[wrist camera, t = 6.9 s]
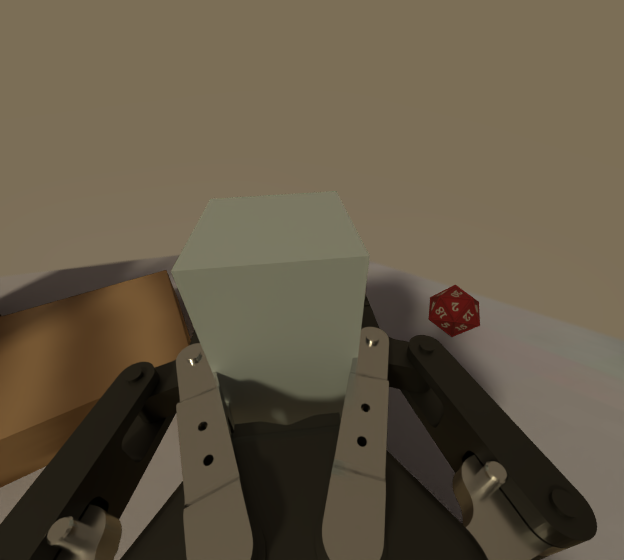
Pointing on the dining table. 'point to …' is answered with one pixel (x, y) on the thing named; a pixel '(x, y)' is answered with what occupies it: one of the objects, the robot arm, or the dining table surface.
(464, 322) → the dice
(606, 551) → the dining table surface
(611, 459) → the dining table surface
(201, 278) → the pale green pillar
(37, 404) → the walnut block
